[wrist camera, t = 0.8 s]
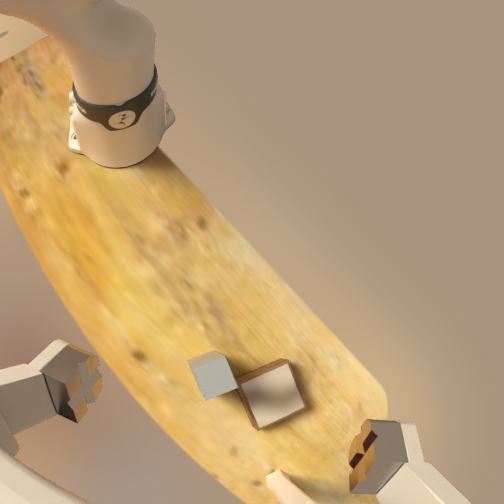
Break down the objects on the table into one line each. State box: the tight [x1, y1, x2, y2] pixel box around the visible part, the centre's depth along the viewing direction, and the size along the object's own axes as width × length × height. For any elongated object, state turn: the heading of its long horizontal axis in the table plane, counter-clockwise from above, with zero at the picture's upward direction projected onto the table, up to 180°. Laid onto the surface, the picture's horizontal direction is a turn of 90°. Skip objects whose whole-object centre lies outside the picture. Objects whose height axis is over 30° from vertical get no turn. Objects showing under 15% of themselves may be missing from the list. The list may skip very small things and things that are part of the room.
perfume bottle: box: [266, 470, 318, 504], centre depth 35 cm, size 5×4×15 cm
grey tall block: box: [187, 351, 238, 400], centre depth 39 cm, size 4×4×10 cm
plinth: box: [235, 358, 307, 431], centre depth 44 cm, size 8×8×3 cm
